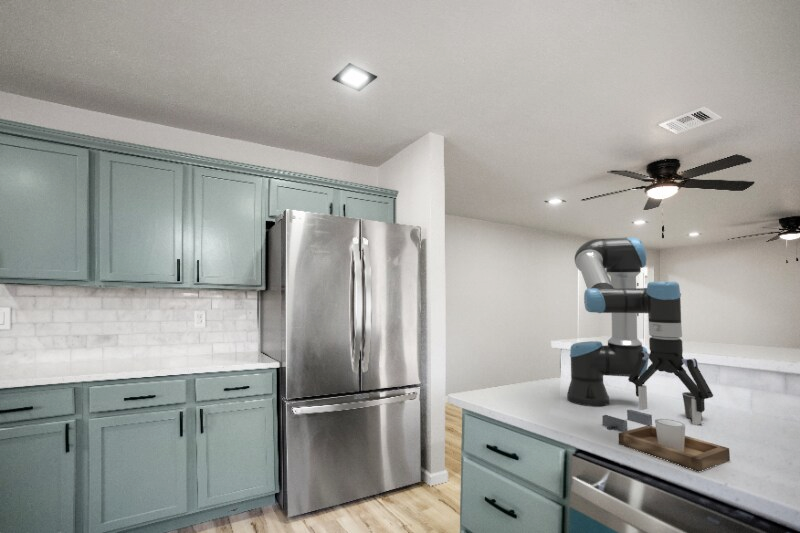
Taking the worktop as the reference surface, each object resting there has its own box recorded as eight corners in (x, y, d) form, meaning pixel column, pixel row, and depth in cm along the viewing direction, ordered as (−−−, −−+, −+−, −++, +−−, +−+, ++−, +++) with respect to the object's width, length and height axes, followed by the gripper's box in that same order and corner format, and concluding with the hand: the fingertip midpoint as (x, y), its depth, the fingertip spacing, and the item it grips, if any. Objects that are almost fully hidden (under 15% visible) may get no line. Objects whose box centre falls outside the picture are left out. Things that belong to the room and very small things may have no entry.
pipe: (686, 423, 127) (685, 399, 128) (682, 413, 138) (680, 390, 139) (710, 427, 124) (708, 401, 125) (703, 416, 135) (702, 393, 136)
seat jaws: (598, 426, 125) (598, 416, 125) (634, 417, 133) (634, 408, 134) (619, 432, 119) (619, 422, 119) (655, 423, 127) (655, 414, 128)
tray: (618, 444, 110) (618, 433, 110) (649, 435, 116) (648, 425, 117) (699, 472, 92) (698, 459, 92) (729, 460, 99) (729, 448, 99)
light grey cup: (659, 451, 103) (657, 424, 103) (653, 442, 109) (652, 417, 109) (690, 456, 100) (688, 428, 100) (682, 446, 106) (681, 420, 107)
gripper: (613, 333, 116) (616, 405, 115) (711, 344, 94) (715, 433, 93) (629, 331, 119) (631, 401, 118) (726, 342, 97) (731, 428, 96)
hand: (668, 416), depth 105 cm, fingers open, 13 cm apart
